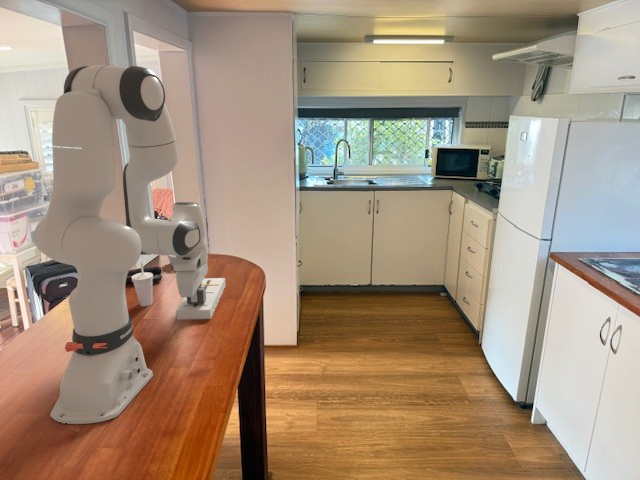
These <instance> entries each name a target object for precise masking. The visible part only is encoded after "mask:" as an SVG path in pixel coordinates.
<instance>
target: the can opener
mask: <svg viewBox="0 0 640 480" xmlns="http://www.w3.org/2000/svg"><path fill="white" fill-rule="evenodd" d="M143 271H144V272H149V273H152V274H153V279H152V285H154V284H157V283H160V282H161V281H162V279H163V276H162V268H161V267H160V266H153V265H152V266H149V267H143ZM138 273H142V271H141V268H137V269H136V268H135V269H130V270H129V271H128V274H127V278H126V283H125V284H129V283H133V282H132V276H133V275H135V274H138Z"/></svg>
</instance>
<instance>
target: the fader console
mask: <svg viewBox="0 0 640 480" xmlns="http://www.w3.org/2000/svg"><path fill="white" fill-rule="evenodd" d="M202 287H205V290H206V301H205V303H198V304H187V297H183V299H182V300H181V302H180V303H179V305H178V307H177V308H176V309H175V313H176V314H175V315H176V320H211V319H212V317H213V316H214V313H215V310H216V309H215V308H217V306H218V304H219V302H220V300H221V298H222V295H223V293H224V291H225V289H226V278H225V277H217V278H216V277H211V278H209V277H207V278H205V277H204V279H203V280H202ZM224 288H225V289H224ZM223 290H224V291H223ZM220 297H221V298H220ZM219 299H220V300H219Z"/></svg>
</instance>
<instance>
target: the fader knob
mask: <svg viewBox="0 0 640 480" xmlns="http://www.w3.org/2000/svg"><path fill="white" fill-rule="evenodd" d="M197 295H198V300H197V302H191V297H187V304H198V303H205V301H206V290H205V287H198V289H197Z"/></svg>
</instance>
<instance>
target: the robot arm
mask: <svg viewBox="0 0 640 480" xmlns="http://www.w3.org/2000/svg"><path fill="white" fill-rule="evenodd" d="M115 120H121V121H122V122H123V123H124V124H125V131H126V133H125V134H126V138H127V142H128V143H127V144H128V148H129V158H128V162H127V163H126V164H125V165H124V167H123V171H122V184H123V185H122V189H123V198H124V209H125V210H124V211H125V224H124V223H122V222H120V221H118V220H115V219H108V218H102V217H101V210H102V208H103V207H102V206H103V204H104V202H105V201H104V200H105V199H106V197H107V196H108V195H110V194H111V193H112V192H113V191H114V189H115V186H116V173H115V172H116V171H115V169H116V166H115V165H116V163H115V140H114V139H115V137H114V130H113V129H114V128H113V126H114V123H115ZM51 139H52V140H51V141H52V143H51V144H52V145H51V146H52V166H53V167H52V171H53V172H52V173H53V176H52V177H53V182H52V192H51V197H50V202H49V205H48V207H47V208H48V209H47V211H46V214H45V216H44V217H43V218H42V219H41V220H40V221H39V222H38V224H37V225H36V227H35V229H34V232H33V241H34V244H35V246H36V248H37V250H39V252H40V253H42V254H43V255H45V256H46V257H47V258H49V259H51V260H53V261H55V262H57V263H60V264H63V265H64V264H65V265H68V266H72V267H74V268H75V269H76V271H77V283H76V284H77V285H76V287H75V288H74V289H73V290H72V291H71V292H70V294H69V296H68V305H69V310H70V314H71V319H72V323H73V329H72V335H71V340H72V341H68V342H66V343H65V346H64V350H65V352H67V353H70V352H72V353H71V356H70V358H69V360H68V364H67V365H66V370H65V371H64V374H63V377H62V380H61V383H60V385H59V387H60V388H59V397H58V398H57V400H56V402H55V404H54V406H53V408H52V410H51V412H50V413H49V415H50V416H51V417H52V418H53V419H54V420H56V421H58V422H57V423H59V422H61V423H60V424H65V423H67V425H85V424H96V423H101V422H106V421H108V420H111V419H114V418H117V417H118V416H119V415H120V414H121V413H122V412H123V411H124V410H125V409H126V407H127V406H128V405H129V404H130V403H131V402H132V401H133V400H134V399H135V397H136V396H137V395H138V394H139V393H140V391H142V390H143V388H144V387H145V386H146V385H147V384H148V382H149V381H150V380H151V379H152V378H153V376H154V373H153V371H152V369H150V368H148V367H147V364H146V360H145V356H144V352H143V348H142V344H141V343H140V342H139V341H138V340H137V339H136V337H135V336H134V328H133V327H134V324H133V321H132V318H131V316H130V315H129V309H128V305H127V304H128V302H127V295H126V284H127V283H126V278H127V274H128V271H130V270H132V268H133V267H135V266H136V264H137V263H138V262H139V259H140V257H141V256H143V255H147V256H148V255H157V256H158V255H159V256H167V255H172V256H176V258H175V261H174V264H173V266H172V267H173V271H174V272H176V273H175V274H176V275H175V278H176V285H177V289H178V294H179V296H180V297H181V298H184V297H191V302H197V300H198V295H197V289H198V287H202V280H203V279H204V278H205V277H206V275H207V274H208V272H209V266H208V260H209V257H208V256H209V255H208V244H207V240H206V238H205V237H206V236H205V234H206V224H205V216H204V212H203V210H202V205H200V204H199V203H197V202H194V201H193V202H191V201H188V202H187V201H177V202H175V203H173V205H172V214H171V216H170V217H169V218H168V219H157V218H156V219H154V218H152V217H151V216H149V213H148V203H147V202H148V199H147V187H148V185H149V184H150V183H152V182H154V181H157V180H158V179H161V178H163V177H165V176H167V175H169V173H172V171H173V170H174V169H175V167H176V166H177V164H178V161H179V148H178V144H177V143H178V142H177V137H176V132H175V127H174V125H173V121H172V118H171V115H170V112H169V110H168V108H167V104H166V91H165V87H164V85H163V83H162V81H161V79H160V78H159V77H158V75H157V74H156V72H154V71H153V70H151V69H150V68H147V67H143V66H137V65H133V66H127V65H115V64H98V65H97V64H96V65H92V66H90V65H84V66H80V67H77V68H75V69H72V70H71V71H70V72H69V73H68V74H67V75H66V77H65V81H64V84H63V94H61V95H60V96H59V97H58V98H57V99H56V101H55V106H54V112H53V120H52V131H51ZM50 416H49V417H50ZM63 416H64V417H63ZM54 420H53V421H54ZM56 421H55V422H56Z"/></svg>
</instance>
